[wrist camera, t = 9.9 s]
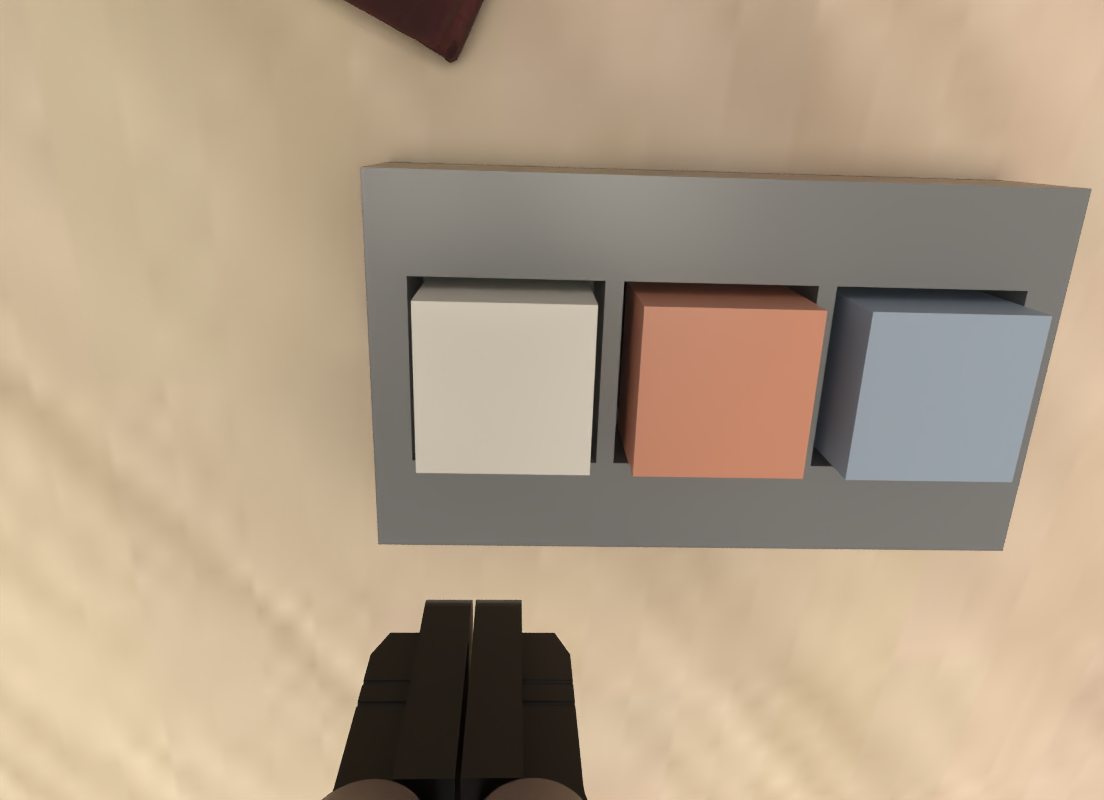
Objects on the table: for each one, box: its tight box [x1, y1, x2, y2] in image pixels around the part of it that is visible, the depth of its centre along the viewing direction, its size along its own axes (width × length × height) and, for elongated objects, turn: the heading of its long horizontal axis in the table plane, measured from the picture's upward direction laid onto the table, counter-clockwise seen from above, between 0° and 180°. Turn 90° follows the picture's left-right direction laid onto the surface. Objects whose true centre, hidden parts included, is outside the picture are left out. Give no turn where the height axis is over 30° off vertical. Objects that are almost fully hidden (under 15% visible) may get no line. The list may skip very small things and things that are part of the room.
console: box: [360, 162, 1091, 551], centre depth 29 cm, size 23×13×5 cm, turn 88°
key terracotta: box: [618, 281, 827, 479], centre depth 26 cm, size 6×6×4 cm
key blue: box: [813, 286, 1052, 482], centre depth 27 cm, size 6×6×4 cm
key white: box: [411, 277, 598, 475], centre depth 26 cm, size 6×6×4 cm
